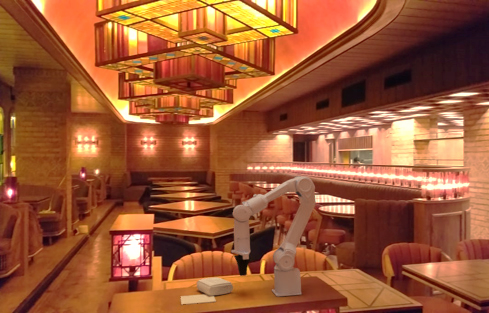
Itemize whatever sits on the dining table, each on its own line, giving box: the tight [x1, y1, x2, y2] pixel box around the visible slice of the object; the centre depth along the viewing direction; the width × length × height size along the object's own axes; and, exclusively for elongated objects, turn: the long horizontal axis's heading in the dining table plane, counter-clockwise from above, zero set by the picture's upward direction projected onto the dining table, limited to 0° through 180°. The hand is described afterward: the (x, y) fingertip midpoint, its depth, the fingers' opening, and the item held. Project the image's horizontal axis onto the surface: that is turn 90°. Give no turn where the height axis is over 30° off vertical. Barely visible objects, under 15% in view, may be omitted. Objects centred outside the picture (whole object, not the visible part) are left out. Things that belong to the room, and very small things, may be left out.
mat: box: [179, 293, 217, 306], centre depth 148 cm, size 12×9×1 cm
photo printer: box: [196, 277, 234, 296], centre depth 157 cm, size 10×4×12 cm
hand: (242, 275), depth 151 cm, fingers closed
